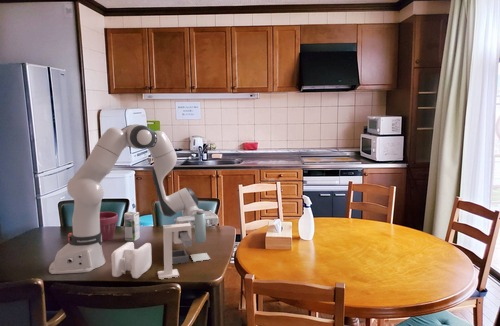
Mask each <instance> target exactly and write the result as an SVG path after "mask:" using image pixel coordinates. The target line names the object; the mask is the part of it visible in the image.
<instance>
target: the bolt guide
mask: <svg viewBox="0 0 500 326" xmlns="http://www.w3.org/2000/svg"><path fill="white" fill-rule="evenodd" d="M162 231H163V236H162V237H163V265H164V266H163V270H159V271H157V275H158V279H161V280H165V279H164V278H168V279H173V278H172V277H175V278H179V277H180V273H179V270H178V269H177V268H174V269H173V265H172V251H173V243H174V245H177V244H182V242H181V240H180V238H179V236H178V231H187V233H188V235H189V236H190V238H191V240H192V241H193V239H192V237H193V236H192V228H191V224H190V223H184V224H176V223H174V224H164V225H162ZM178 276H179V277H178Z"/></svg>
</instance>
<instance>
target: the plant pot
mask: <svg viewBox="0 0 500 326" xmlns="http://www.w3.org/2000/svg"><path fill="white" fill-rule="evenodd" d="M118 221H119V215H118V213H117V212H114V211H100V231H101V234H102V242H107V241H111V240H113V239H114V236H115V232H116V227H117V223H118Z"/></svg>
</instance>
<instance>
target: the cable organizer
mask: <svg viewBox="0 0 500 326" xmlns="http://www.w3.org/2000/svg"><path fill="white" fill-rule="evenodd" d="M134 243H135V242H134V241H127V242H126V243H124V244H123V245H121V246H120V247H118V248H116V249H115V250H114V251H112V253H111V255H110V257H111V275H112V277H114V278H119V277H121V276H122V275H123V274H124V275H126V272H127V271H130V275H131V277H132V278H133V279H139V278H140V277H141V276H142V275H143V274H144V273H147V271H148V270H149V269H150V268H151V266H152V263H153V261H152V259H153V258H152V244H151V243H150V242H145V243H144V244H143V245H141V246H140V247H138V248H135V244H134Z"/></svg>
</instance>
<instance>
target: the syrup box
mask: <svg viewBox="0 0 500 326" xmlns="http://www.w3.org/2000/svg"><path fill="white" fill-rule="evenodd" d="M123 218H124V240H125V241H127V242H135V241H137V240H138V239H140V230H141V229H140V212H139V211H127V212H125V213H124V215H123Z"/></svg>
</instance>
